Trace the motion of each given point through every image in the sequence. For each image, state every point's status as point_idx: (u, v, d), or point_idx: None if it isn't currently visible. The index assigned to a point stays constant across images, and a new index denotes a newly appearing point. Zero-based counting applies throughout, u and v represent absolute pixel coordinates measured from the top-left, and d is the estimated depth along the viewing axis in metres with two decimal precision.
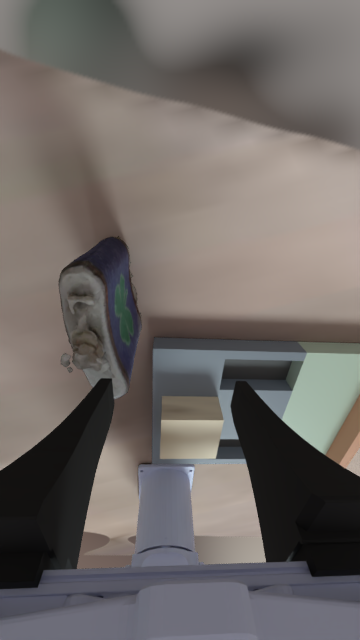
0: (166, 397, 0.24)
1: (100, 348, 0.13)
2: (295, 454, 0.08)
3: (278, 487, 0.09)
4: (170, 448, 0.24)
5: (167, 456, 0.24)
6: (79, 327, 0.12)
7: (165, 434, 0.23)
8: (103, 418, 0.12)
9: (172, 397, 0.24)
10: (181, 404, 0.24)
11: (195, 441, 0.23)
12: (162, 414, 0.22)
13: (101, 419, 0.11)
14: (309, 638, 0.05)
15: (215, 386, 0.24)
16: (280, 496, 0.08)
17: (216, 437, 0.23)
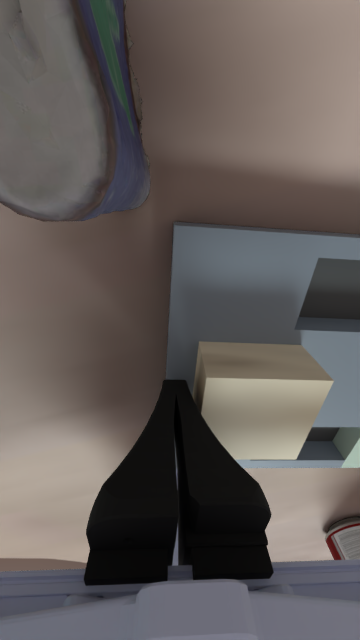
0: (208, 344, 0.13)
1: None
2: (199, 454, 0.08)
3: (183, 488, 0.08)
4: None
5: None
6: None
7: (211, 409, 0.11)
8: None
9: (218, 344, 0.13)
10: (239, 354, 0.12)
11: (266, 425, 0.12)
12: (206, 368, 0.11)
13: None
14: (309, 638, 0.05)
15: (288, 322, 0.13)
16: (183, 498, 0.08)
17: (308, 418, 0.12)
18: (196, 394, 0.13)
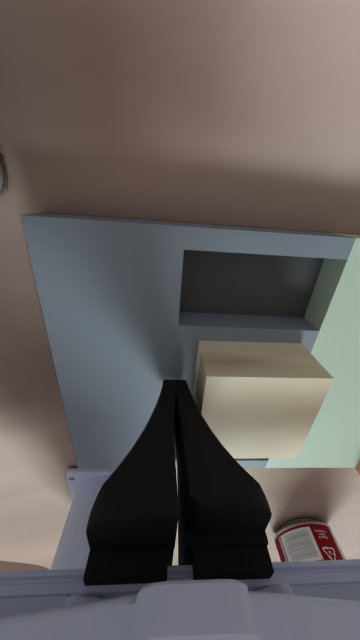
0: (208, 343, 0.13)
1: None
2: (199, 454, 0.08)
3: (183, 488, 0.08)
4: None
5: None
6: None
7: (211, 408, 0.11)
8: None
9: (218, 343, 0.13)
10: (239, 352, 0.12)
11: (267, 424, 0.12)
12: (206, 367, 0.11)
13: None
14: (309, 638, 0.05)
15: (169, 317, 0.12)
16: (183, 498, 0.08)
17: (309, 416, 0.12)
18: (196, 393, 0.13)
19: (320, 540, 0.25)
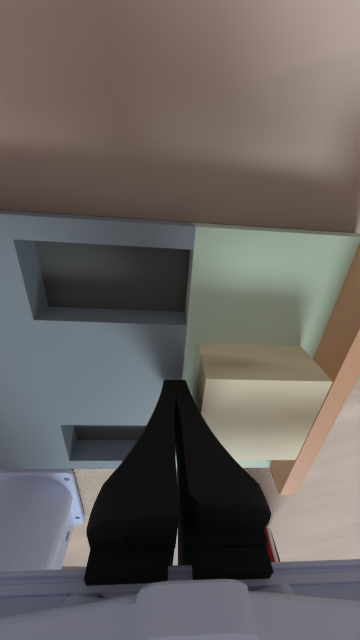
0: (207, 345, 0.13)
1: None
2: (199, 454, 0.08)
3: (182, 488, 0.08)
4: None
5: None
6: None
7: (210, 411, 0.11)
8: (174, 419, 0.12)
9: (218, 345, 0.13)
10: (238, 355, 0.12)
11: (266, 426, 0.12)
12: (206, 370, 0.11)
13: None
14: (309, 638, 0.05)
15: (21, 311, 0.12)
16: (183, 498, 0.08)
17: (308, 418, 0.12)
18: (196, 395, 0.13)
19: None
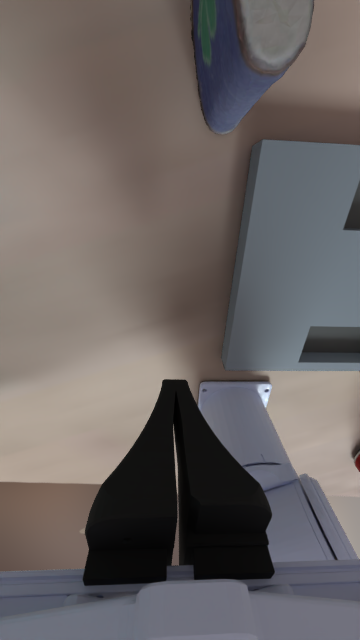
0: None
1: None
2: (200, 454, 0.08)
3: (183, 488, 0.08)
4: None
5: None
6: None
7: None
8: (173, 419, 0.12)
9: None
10: None
11: None
12: None
13: None
14: (309, 638, 0.05)
15: (338, 223, 0.17)
16: (183, 498, 0.08)
17: None
18: None
19: None
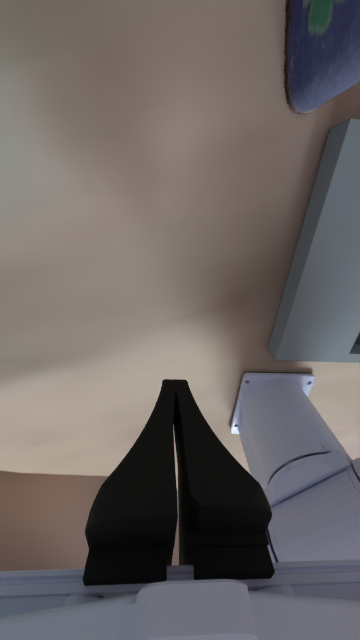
0: None
1: None
2: (200, 454, 0.08)
3: (183, 488, 0.08)
4: None
5: None
6: None
7: None
8: (173, 419, 0.12)
9: None
10: None
11: None
12: None
13: None
14: (309, 638, 0.05)
15: None
16: (183, 498, 0.08)
17: None
18: None
19: None
